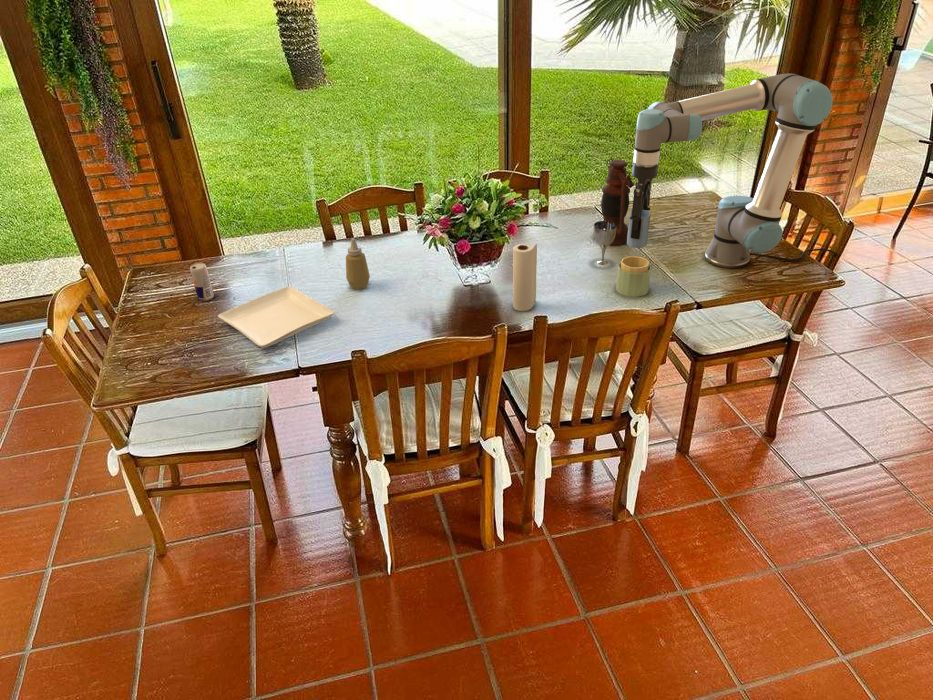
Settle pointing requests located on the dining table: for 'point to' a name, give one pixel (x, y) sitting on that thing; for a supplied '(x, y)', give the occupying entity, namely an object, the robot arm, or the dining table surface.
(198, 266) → the energy drink
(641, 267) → the middle cup
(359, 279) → the squeeze bottle
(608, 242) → the wine glass
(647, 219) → the top cup
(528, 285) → the paper towel roll
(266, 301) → the square plate
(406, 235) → the dining table surface
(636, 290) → the stack base cup
